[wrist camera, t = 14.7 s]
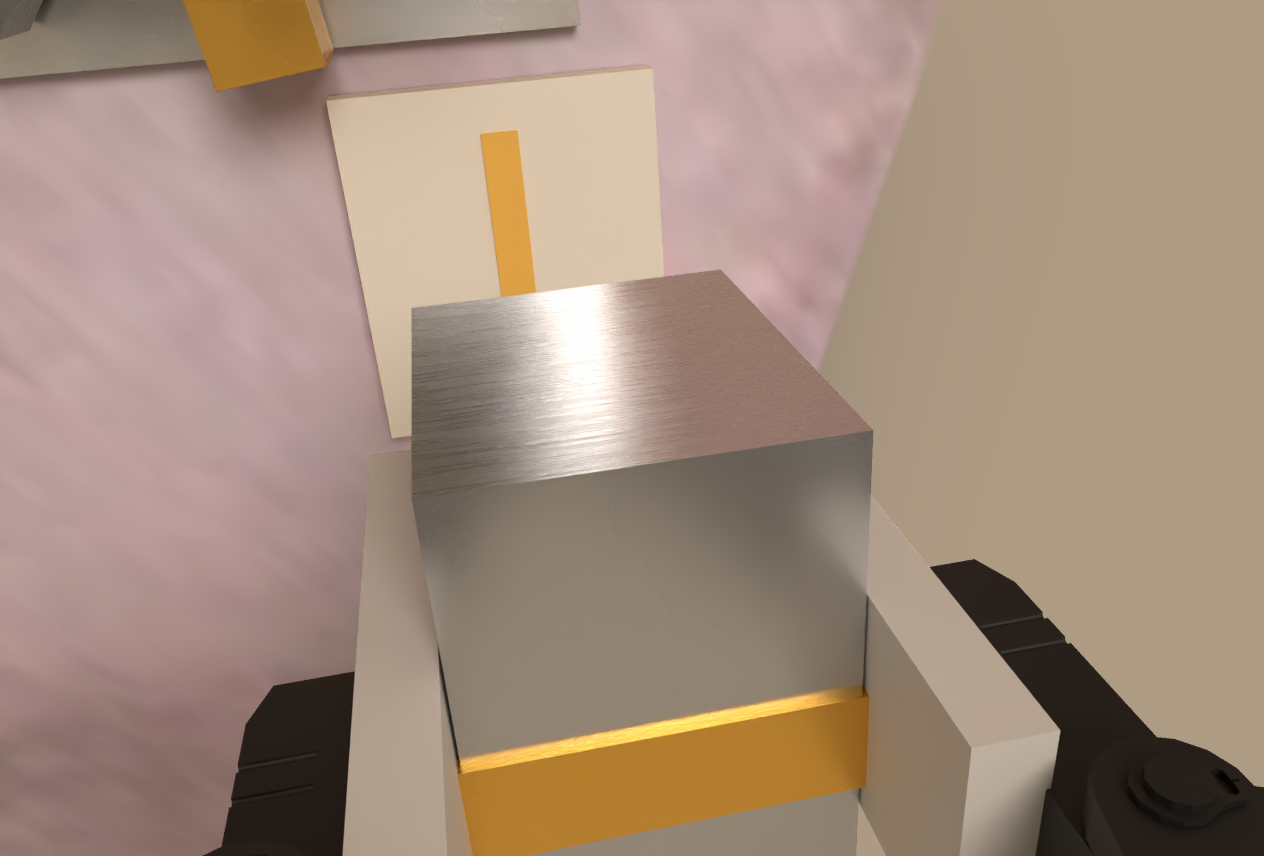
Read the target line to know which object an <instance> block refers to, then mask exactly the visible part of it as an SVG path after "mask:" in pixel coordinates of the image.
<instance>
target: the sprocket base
mask: <svg viewBox="0 0 1264 856" xmlns="http://www.w3.org/2000/svg"><path fill="white" fill-rule="evenodd" d="M318 1H319V5H320V8H321V11H322V14H323V17H324V21H325V24H326V27H327V30H328V33H329V37H330V40H331V43H332V46H333V48H340V47H351V46H361V45H372V44H383V43H394V42H405V41H416V40H427V39H438V38H449V37H460V36H471V35H481V34H492V33H503V32H514V31H525V30H536V29H547V28H558V27H569V26H580V14H579V2H578V0H318ZM198 60H205V59H204V56H203V54H202V51H201V48H200V46H199V43H198V40H197V38H196V35H195V32H194V29H193V27H192V24H191V21H190V19H189V16H188V13H187V11H186V8H185V5H184V2H183V0H43V1H42V4H41V6H40V8H39V11H38V13H37V15H36V17H35V20H34V22H33V24H32V27H31V29H30V31H27V32H24V33H21V34H18V35H14V36H11V37H8V38H5V39H1V40H0V79H1V78H12V77H23V76H34V75H45V74H56V73H67V72H78V71H89V70H100V69H111V68H121V67H132V66H143V65H154V64H165V63H176V62H187V61H198Z"/></svg>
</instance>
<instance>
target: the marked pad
mask: <svg viewBox="0 0 1264 856" xmlns="http://www.w3.org/2000/svg"><path fill="white" fill-rule="evenodd" d="M326 104H327V109H328V114H329V119H330V124H331V129H332V135H333V140H334V145H335V150H336V155H337V160H338V165H339V170H340V175H341V181H342V186H343V191H344V196H345V201H346V206H347V211H348V216H349V221H350V227H351V232H352V237H353V242H354V247H355V252H356V257H357V262H358V268H359V273H360V278H361V283H362V288H363V293H364V298H365V303H366V308H367V314H368V319H369V324H370V329H371V334H372V339H373V344H374V349H375V354H376V360H377V365H378V370H379V375H380V380H381V385H382V390H383V395H384V400H385V406H386V411H387V416H388V421H389V426H390V431H391V436H392V438H398V437H405V436H412V333H411V308H415V307H423V306H432V305H440V304H448V303H456V302H464V301H472V300H480V299H488V298H496V297H504V296H512V295H520V294H528V293H537V292H545V291H553V290H561V289H569V288H577V287H585V286H593V285H601V284H609V283H617V282H625V281H634V280H642V279H650V278H658V277H664V266H663V248H662V229H661V211H660V192H659V173H658V155H657V136H656V118H655V99H654V81H653V68H651V67H650V66H648V65H641V66H631V67H620V68H610V69H600V70H590V71H580V72H569V73H559V74H549V75H539V76H529V77H519V78H508V79H498V80H488V81H478V82H468V83H457V84H447V85H437V86H427V87H417V88H406V89H396V90H386V91H376V92H366V93H356V94H345V95H335V96H328V97H327V99H326Z"/></svg>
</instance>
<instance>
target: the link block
mask: <svg viewBox="0 0 1264 856" xmlns="http://www.w3.org/2000/svg"><path fill="white" fill-rule="evenodd" d="M411 333H412V505H413V510H414V516H415V521H416V526H417V532H418V537H419V543H420V548H421V554H422V559H423V564H424V570H425V575H426V581H427V586H428V592H429V597H430V603H431V608H432V613H433V619H434V624H435V630H436V635H437V641H438V646H439V651H440V657H441V662H442V668H443V673H444V679H445V684H446V689H447V695H448V700H449V706H450V711H451V717H452V722H453V728H454V733H455V738H456V744H457V749H458V755H459V759H457V775H458V780H459V785H460V791H461V796H462V801H463V806H464V811H465V817H466V822H467V827H468V832H469V837H470V843H471V848H472V853H473V856H856V842H857V817H858V794H859V788H863V787H866V771H867V746H868V721H869V695H868V693H867V692H866V690H865V689H864V687H863V670H864V646H865V621H866V596H867V571H868V547H869V522H870V497H871V473H872V470H871V469H872V448H873V430H872V428H871V427H870V426H869V425H868V424H867V423H866V422H865V421H864V420H863V419H862V418H861V417H860V416H859V415H858V414H857V413H856V412H855V411H854V410H853V408H851V406H850V405H849V404H848V403H847V402H846V401H845V400H844V399H843V398H842V397H841V396H840V395H839V394H838V393H837V392H836V391H835V390H834V388H833V387H832V386H831V385H830V384H829V383H828V382H827V381H826V380H825V379H824V378H823V377H822V376H821V375H820V374H819V373H818V372H817V371H816V370H815V368H814V367H813V366H812V365H811V364H810V363H809V362H808V361H807V360H806V359H805V358H804V357H803V356H802V355H801V354H800V353H799V352H798V351H797V350H796V349H795V347H794V346H793V345H792V344H791V343H790V342H789V341H788V340H787V339H786V338H785V337H784V336H783V335H782V334H781V333H780V332H779V331H778V330H777V329H776V327H775V326H774V325H773V324H772V323H771V322H770V321H769V320H768V319H767V318H766V317H765V316H764V315H763V314H762V313H761V312H760V311H759V310H758V309H757V307H756V306H755V305H754V304H753V303H752V302H751V301H750V300H749V299H748V298H747V297H746V296H745V295H744V294H743V293H742V292H741V291H740V290H739V289H738V287H737V286H736V285H735V284H734V283H733V282H732V281H731V280H730V279H729V278H728V277H727V276H726V275H725V274H724V273H723V272H722V271H721V270H714V271H706V272H698V273H690V274H682V275H674V276H666V277H658V278H650V279H642V280H634V281H625V282H617V283H609V284H601V285H593V286H585V287H577V288H569V289H561V290H553V291H545V292H537V293H528V294H520V295H512V296H504V297H496V298H488V299H480V300H472V301H464V302H456V303H448V304H440V305H432V306H423V307H415V308H411Z"/></svg>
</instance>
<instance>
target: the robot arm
mask: <svg viewBox="0 0 1264 856" xmlns="http://www.w3.org/2000/svg"><path fill="white" fill-rule="evenodd" d="M863 687H864V689H865V690H866V692H867V693H868V695H869V721H868V746H867V771H866V787H863V788H859V794H858V801H859V803H860V805H861V807H862V809H863V811H864V813H865V815H866V817H867V819H868V820H869V822H870V824H871V826H872V828H873V830H874V832H875V834H876V836H877V838H878V840H879V842H880V844H881V846H882V848H883V850H884V852H885V854H886V856H1264V787H1257V786H1254V785H1253V784H1252V783H1251V782H1250V781H1249V780H1248V779H1247V778H1246V777H1245V776H1244V775H1243V774H1242V773H1241V772H1240V771H1239V770H1238V769H1237V768H1236V767H1234V766H1233V765H1231V764H1229V763H1228V762H1226V761H1224V760H1223V759H1221V758H1219V757H1218V756H1216V755H1215V754H1213V753H1211V752H1210V751H1208V750H1205V749H1202V748H1200V747H1196V746H1194V745H1191V744H1188V743H1185V742H1182V741H1178V740H1176V739H1169V738H1159V737H1156V736H1155V735H1154V734H1153V732H1152V731H1151V730H1150V729H1149V728H1148V727H1147V726H1146V725H1145V724H1144V723H1143V722H1142V720H1141V719H1140V718H1139V717H1138V716H1137V715H1136V714H1135V713H1134V712H1133V711H1132V709H1131V708H1130V707H1129V706H1128V705H1127V704H1126V703H1125V702H1124V701H1123V700H1122V699H1121V697H1120V696H1119V695H1118V694H1117V693H1116V692H1115V691H1114V690H1113V689H1112V688H1111V687H1110V685H1109V684H1108V683H1107V682H1106V681H1105V680H1104V679H1103V678H1102V677H1101V676H1100V674H1099V673H1098V672H1097V671H1096V670H1095V669H1094V668H1093V667H1092V666H1091V665H1090V664H1089V662H1088V661H1087V660H1086V659H1085V658H1084V657H1083V656H1082V655H1081V654H1080V653H1079V652H1078V651H1077V649H1076V648H1075V647H1074V646H1073V645H1072V644H1071V643H1070V644H1067V643H1066V641H1065V636H1064V635H1063V634H1062V633H1061V632H1060V631H1059V630H1058V629H1057V627H1056V626H1055V625H1054V624H1053V623H1052V622H1051V621H1050V620H1049V619H1048V618H1046V619H1044V618H1043V615H1042V611H1041V610H1040V609H1039V608H1038V607H1037V606H1036V605H1035V603H1034V602H1033V601H1032V600H1031V599H1030V598H1029V597H1028V596H1027V595H1026V594H1025V593H1024V591H1023V590H1022V589H1021V588H1020V587H1019V586H1018V585H1017V584H1016V583H1015V582H1014V581H1012V580H1010V579H1009V578H1007V577H1005V576H1003V575H1002V574H1000V573H998V572H996V571H994V570H992V569H991V568H989V567H987V566H986V565H984V564H982V563H980V562H978V561H977V560H975V559H973V560H967V561H962V562H956V563H951V564H944V565H939V566H933V567H929V566H928V565H927V564H926V562H925V561H924V560H923V559H922V557H921V556H920V555H919V554H918V552H917V551H916V550H915V549H914V547H913V546H912V545H911V544H910V542H909V541H908V540H907V539H906V537H904V535H903V534H902V533H901V531H900V530H899V529H898V528H897V526H896V525H895V524H894V523H893V522H892V520H891V519H890V518H889V516H888V515H887V514H886V513H885V511H884V510H883V509H882V508H881V506H880V505H879V504H878V503H877V502H876V500H875V499H874V498H873V496H872V495H871V497H870V522H869V547H868V571H867V596H866V621H865V646H864V670H863ZM457 759H459V755H458V749H457V744H456V738H455V733H454V728H453V722H452V717H451V711H450V706H449V700H448V695H447V689H446V684H445V679H444V673H443V668H442V662H441V657H440V651H439V646H438V641H437V635H436V630H435V624H434V619H433V613H432V608H431V603H430V597H429V592H428V586H427V581H426V575H425V570H424V564H423V559H422V554H421V548H420V543H419V537H418V532H417V526H416V521H415V516H414V510H413V505H412V450H408V451H401V452H395V453H388V454H381V455H374V456H370V457H369V472H368V486H367V501H366V516H365V531H364V546H363V560H362V575H361V590H360V605H359V620H358V635H357V649H356V664H355V672H349V673H343V674H338V675H332V676H326V677H321V678H315V679H309V680H304V681H298V682H292V683H287V684H281V685H275V686H273V687H272V689H271V690H270V691H269V693H268V694H267V696H266V697H265V698H264V700H263V701H262V703H261V704H260V705H259V707H258V708H257V710H256V711H255V712H254V714H253V715H252V716H251V718H250V719H249V721H248V722H247V723H246V726H245V731H244V736H243V741H242V746H241V752H240V757H239V762H238V769H239V772H238V773H236V777H235V782H234V787H233V792H232V797H231V800H232V807H229V812H228V817H227V822H226V827H225V832H224V837H223V842H222V847H220V848H218V849H216V850H214V851H212V852H210V853H208V854H206V855H203V856H473V853H472V848H471V843H470V837H469V832H468V827H467V822H466V817H465V811H464V806H463V801H462V796H461V791H460V785H459V780H458V775H457Z"/></svg>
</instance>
